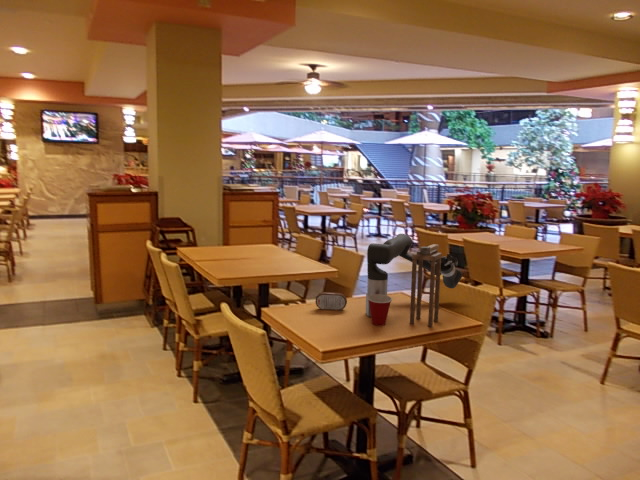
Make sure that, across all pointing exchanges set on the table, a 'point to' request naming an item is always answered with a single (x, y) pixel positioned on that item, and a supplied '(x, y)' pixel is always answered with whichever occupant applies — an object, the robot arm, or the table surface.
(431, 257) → the walnut stand
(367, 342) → the table surface
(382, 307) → the plastic cup
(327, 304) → the tin
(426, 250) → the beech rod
